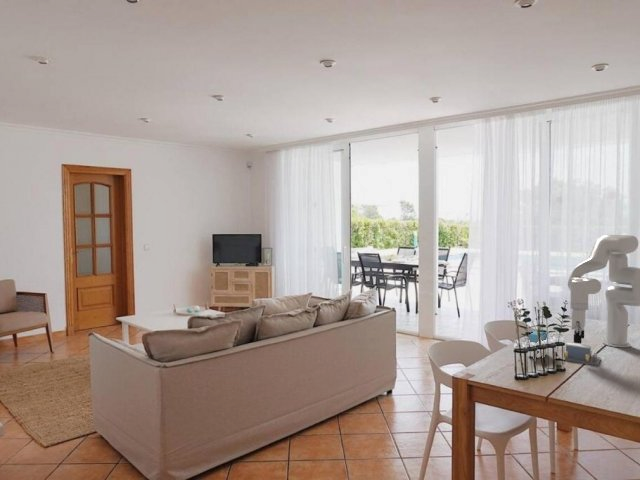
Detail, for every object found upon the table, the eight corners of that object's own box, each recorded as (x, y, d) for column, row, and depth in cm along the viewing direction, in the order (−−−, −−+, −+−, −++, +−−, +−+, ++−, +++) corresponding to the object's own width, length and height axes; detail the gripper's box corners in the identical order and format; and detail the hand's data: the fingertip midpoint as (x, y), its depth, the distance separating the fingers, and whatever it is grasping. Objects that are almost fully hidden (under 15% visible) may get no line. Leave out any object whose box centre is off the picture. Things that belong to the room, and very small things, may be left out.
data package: (537, 359, 228) (537, 334, 228) (527, 357, 232) (528, 333, 231) (547, 354, 236) (547, 330, 236) (538, 352, 240) (538, 329, 239)
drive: (567, 354, 233) (567, 342, 232) (590, 358, 227) (590, 345, 226) (565, 356, 229) (566, 344, 229) (589, 360, 223) (589, 347, 223)
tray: (559, 353, 238) (559, 345, 238) (600, 359, 228) (600, 351, 227) (555, 359, 228) (555, 350, 228) (597, 365, 218) (598, 357, 218)
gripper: (573, 301, 236) (573, 335, 237) (567, 308, 222) (567, 343, 223) (590, 303, 231) (590, 337, 233) (585, 310, 218) (585, 346, 219)
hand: (579, 340), depth 228 cm, fingers open, 9 cm apart
